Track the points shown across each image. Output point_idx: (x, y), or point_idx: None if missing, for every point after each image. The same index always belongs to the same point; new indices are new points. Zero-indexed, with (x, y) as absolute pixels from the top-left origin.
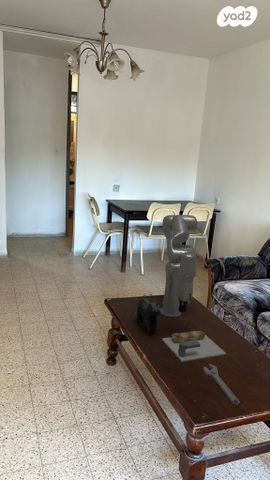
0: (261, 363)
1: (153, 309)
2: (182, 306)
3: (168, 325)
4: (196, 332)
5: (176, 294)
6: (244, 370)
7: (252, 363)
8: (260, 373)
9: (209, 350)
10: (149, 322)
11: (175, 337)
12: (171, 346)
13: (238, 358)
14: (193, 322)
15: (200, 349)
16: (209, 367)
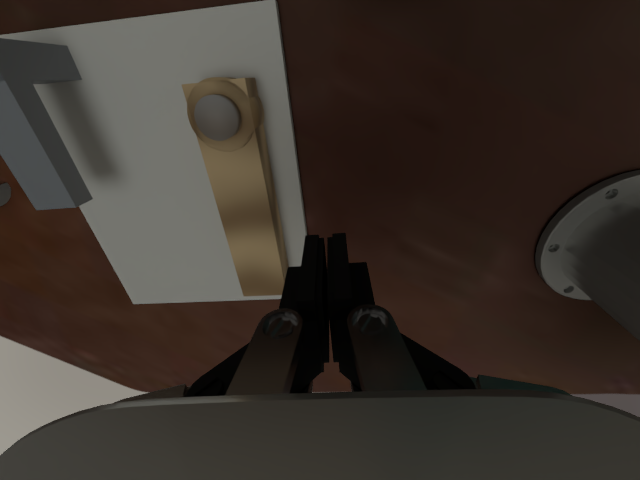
0: (101, 369)
1: None
2: (290, 305)
3: (463, 152)
4: (263, 262)
5: (544, 476)
6: (34, 306)
7: (93, 348)
8: (33, 340)
9: (145, 251)
10: None
11: (193, 88)
12: (159, 34)
13: (118, 325)
14: (437, 303)
15: (147, 214)
16: (2, 185)
